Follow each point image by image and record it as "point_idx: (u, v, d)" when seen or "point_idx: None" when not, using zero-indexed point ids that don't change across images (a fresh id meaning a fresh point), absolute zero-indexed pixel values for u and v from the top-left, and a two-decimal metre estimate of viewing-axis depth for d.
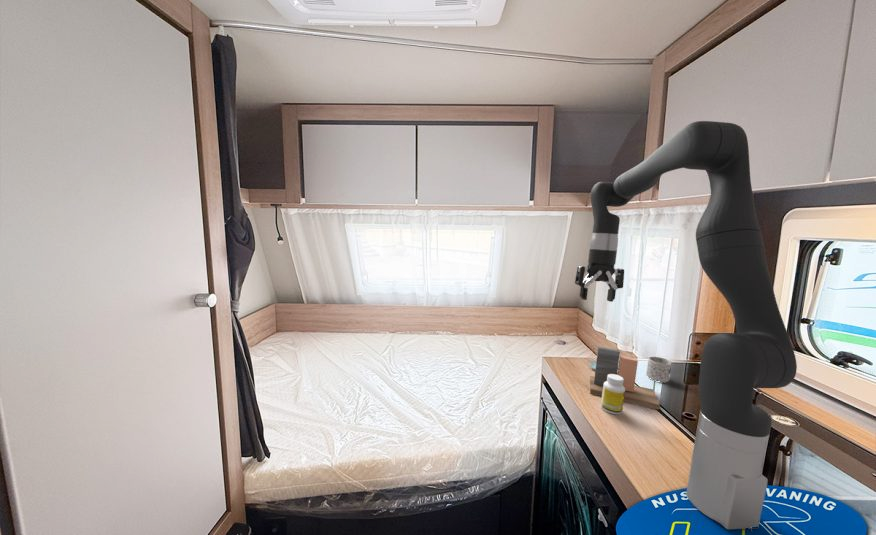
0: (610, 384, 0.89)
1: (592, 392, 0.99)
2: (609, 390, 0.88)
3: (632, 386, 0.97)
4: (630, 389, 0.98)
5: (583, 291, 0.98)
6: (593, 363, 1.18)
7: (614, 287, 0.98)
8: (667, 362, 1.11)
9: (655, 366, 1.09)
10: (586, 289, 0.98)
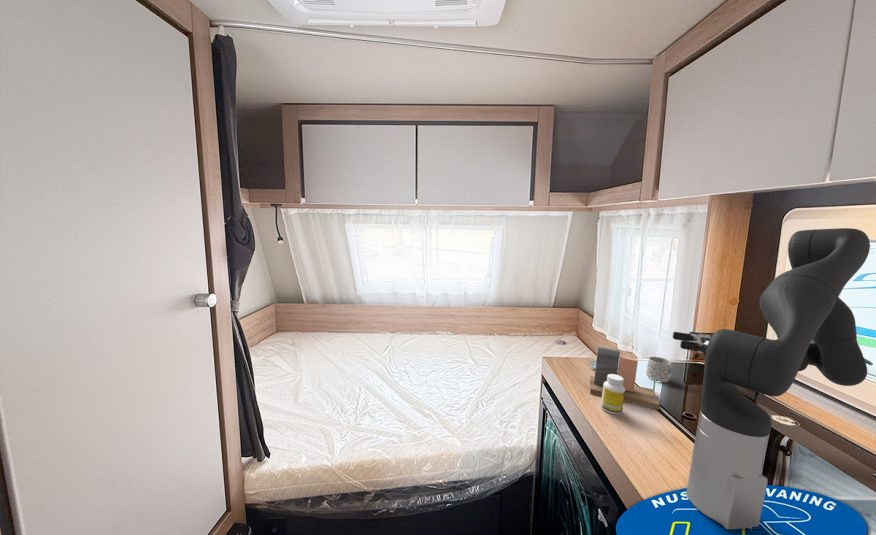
0: (610, 384, 0.89)
1: (592, 392, 0.99)
2: (609, 390, 0.88)
3: (632, 386, 0.97)
4: (630, 389, 0.98)
5: None
6: (594, 363, 1.18)
7: (702, 343, 0.86)
8: (667, 362, 1.11)
9: (655, 366, 1.09)
10: None
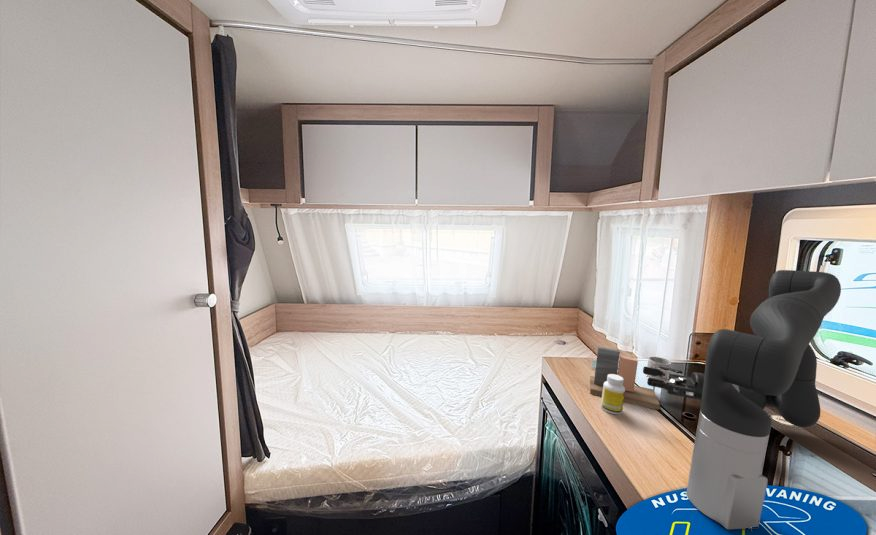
0: (610, 384, 0.89)
1: (592, 392, 0.99)
2: (609, 390, 0.88)
3: (632, 386, 0.97)
4: (630, 389, 0.98)
5: None
6: (595, 363, 1.18)
7: (667, 381, 0.90)
8: (667, 362, 1.11)
9: (655, 367, 1.09)
10: (656, 369, 0.99)
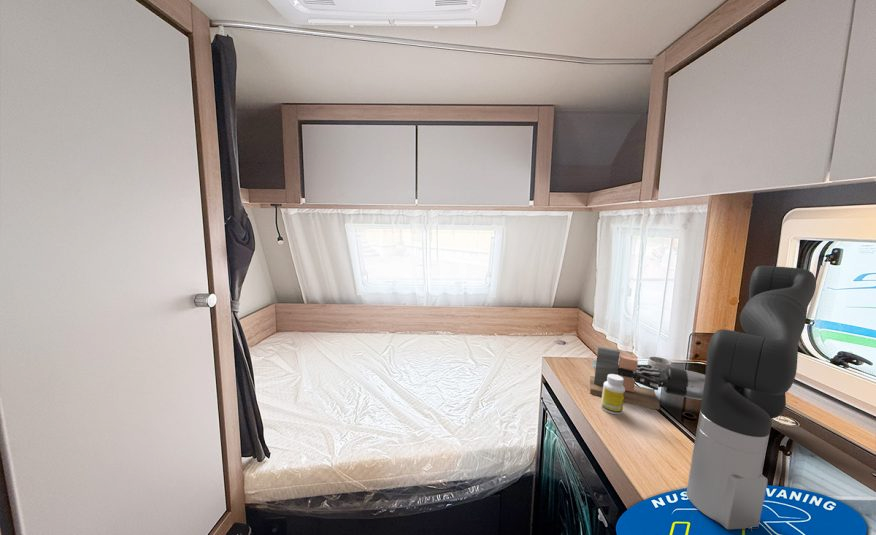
0: (610, 384, 0.89)
1: (592, 392, 0.99)
2: (609, 390, 0.88)
3: (632, 386, 0.97)
4: (630, 389, 0.98)
5: None
6: None
7: (635, 371, 0.96)
8: (667, 362, 1.11)
9: (655, 366, 1.09)
10: None
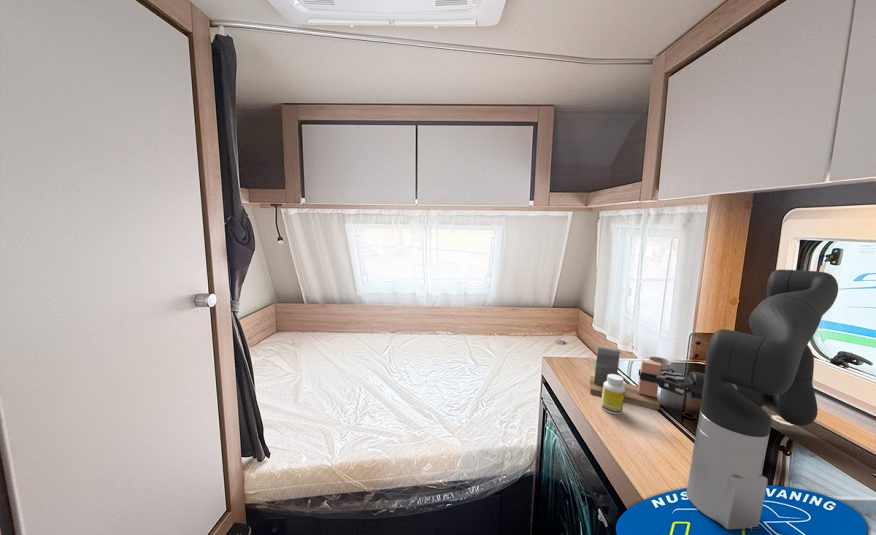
0: (610, 384, 0.89)
1: (592, 392, 0.99)
2: (609, 390, 0.88)
3: (655, 391, 0.95)
4: (653, 394, 0.95)
5: None
6: None
7: (658, 375, 0.94)
8: (667, 362, 1.11)
9: None
10: None
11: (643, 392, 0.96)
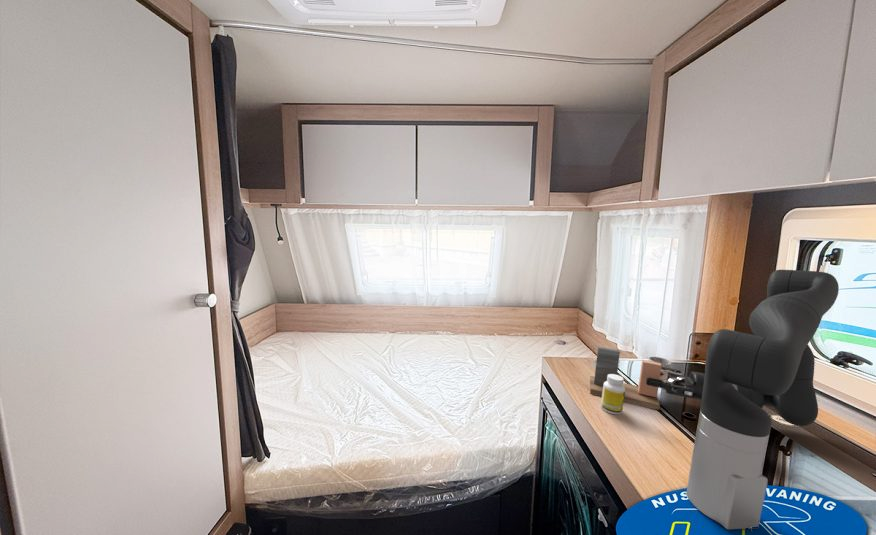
0: (610, 384, 0.89)
1: (592, 392, 0.99)
2: (609, 390, 0.88)
3: (655, 391, 0.95)
4: (653, 394, 0.95)
5: None
6: None
7: (665, 380, 0.91)
8: (667, 362, 1.11)
9: None
10: None
11: (643, 392, 0.96)
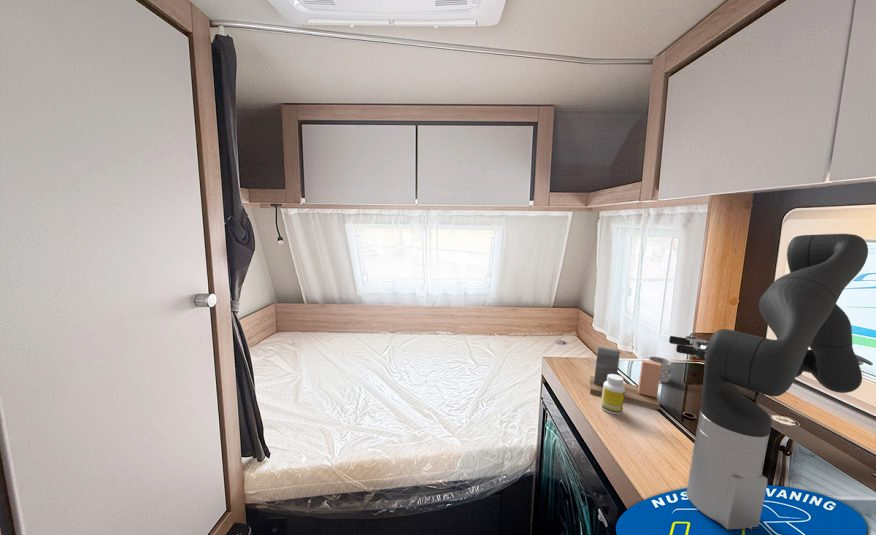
0: (610, 384, 0.89)
1: (592, 392, 0.99)
2: (609, 390, 0.88)
3: (655, 391, 0.95)
4: (653, 394, 0.95)
5: None
6: None
7: (697, 347, 0.87)
8: (667, 362, 1.11)
9: None
10: (683, 338, 0.95)
11: (643, 392, 0.96)
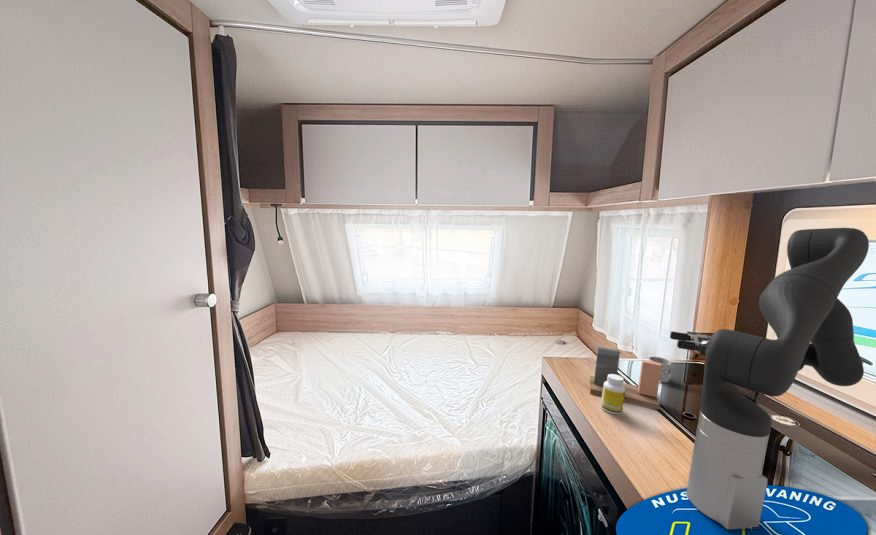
0: (610, 384, 0.89)
1: (592, 392, 0.99)
2: (609, 390, 0.88)
3: (655, 391, 0.95)
4: (653, 394, 0.95)
5: None
6: None
7: (698, 342, 0.87)
8: (667, 362, 1.11)
9: None
10: (684, 333, 0.95)
11: (643, 392, 0.96)
